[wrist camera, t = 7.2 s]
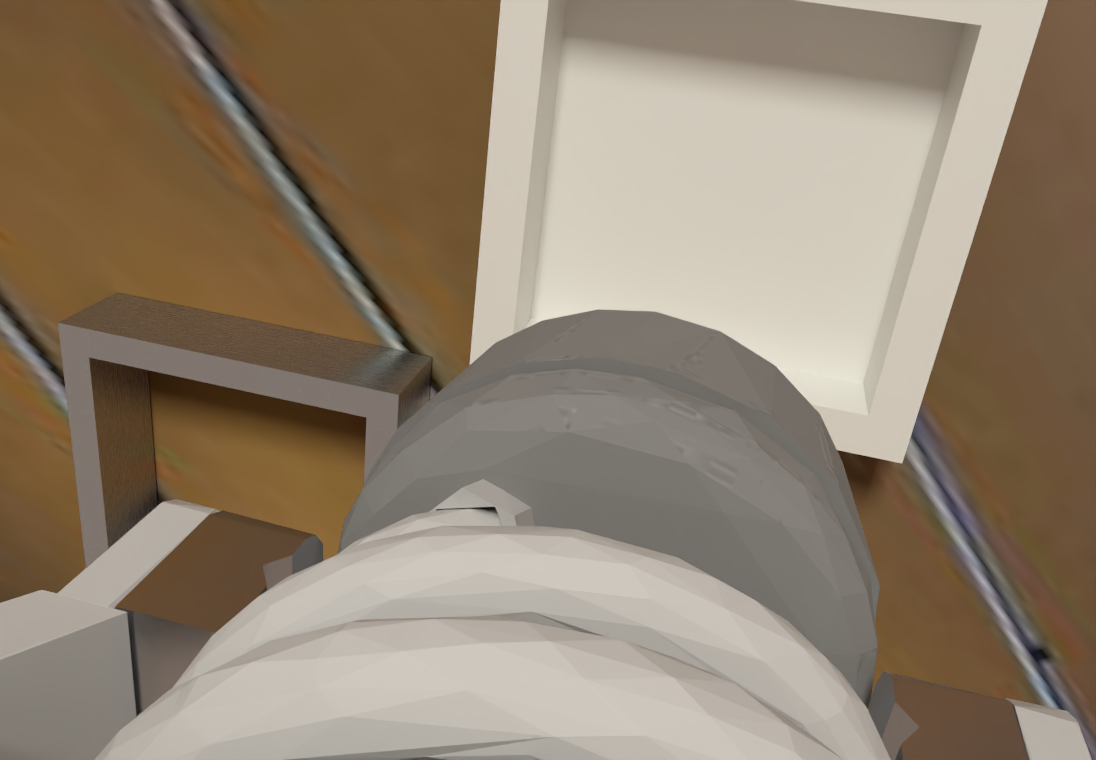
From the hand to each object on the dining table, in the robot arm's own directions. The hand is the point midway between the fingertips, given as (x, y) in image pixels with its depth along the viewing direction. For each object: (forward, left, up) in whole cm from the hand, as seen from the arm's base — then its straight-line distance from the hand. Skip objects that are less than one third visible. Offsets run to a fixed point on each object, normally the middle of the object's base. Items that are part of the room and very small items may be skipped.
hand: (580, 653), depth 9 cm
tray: (0, 0, -20) cm, 21 cm away
